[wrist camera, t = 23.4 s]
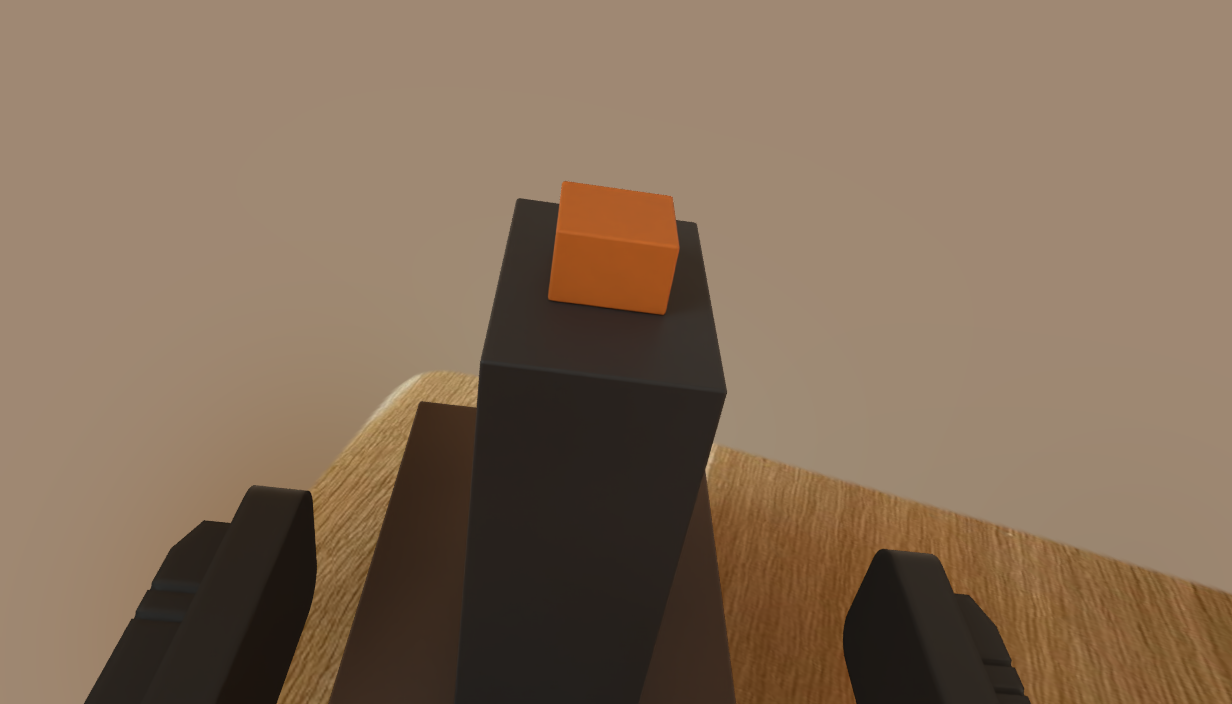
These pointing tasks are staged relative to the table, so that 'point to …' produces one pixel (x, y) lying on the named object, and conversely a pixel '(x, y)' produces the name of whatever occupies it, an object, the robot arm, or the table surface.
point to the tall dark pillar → (585, 448)
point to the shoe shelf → (433, 585)
